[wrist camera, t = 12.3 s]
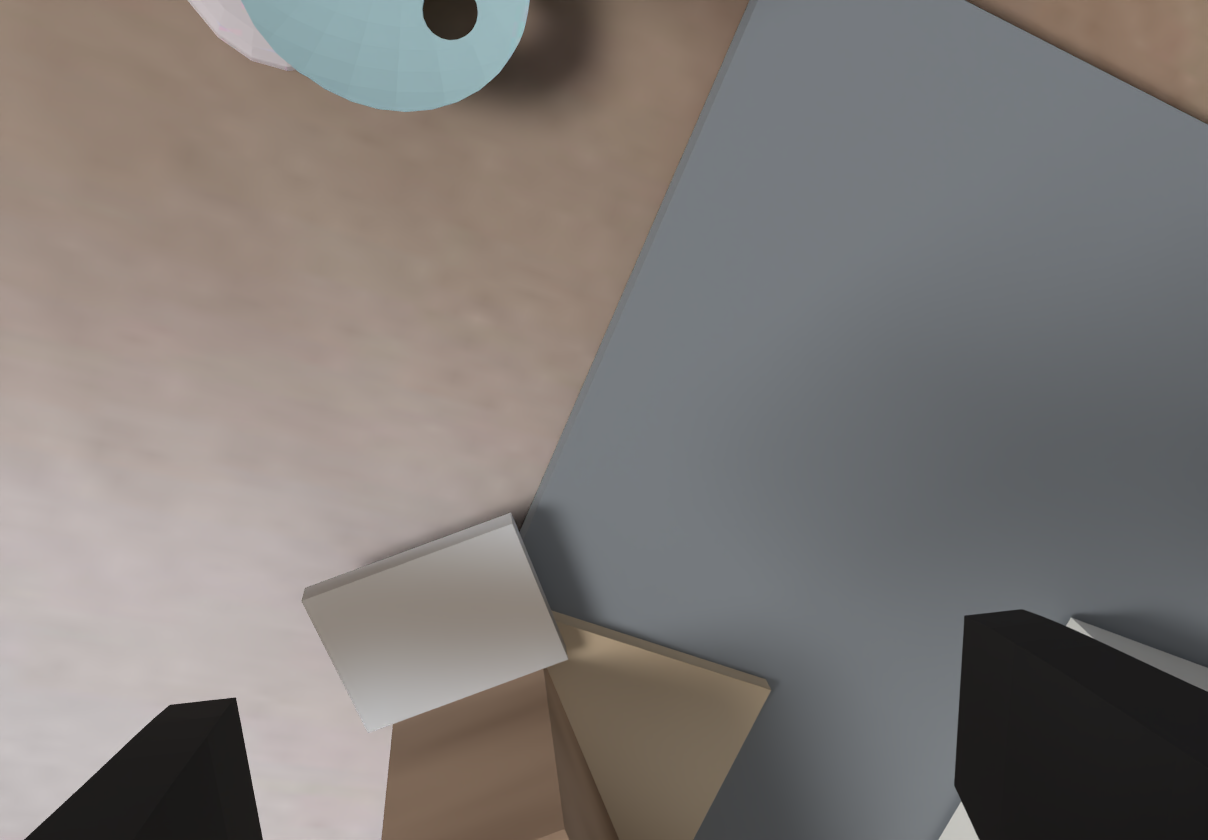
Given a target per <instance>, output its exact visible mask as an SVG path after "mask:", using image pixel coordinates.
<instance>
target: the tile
mask: <svg viewBox="0 0 1208 840" xmlns="http://www.w3.org/2000/svg"><path fill="white" fill-rule="evenodd" d="M1066 626H1067V627H1069V628H1071V629H1074V630H1076V631H1078V632H1080V633H1082V634H1085V635H1087V636H1089V637H1091V638H1094V639H1096V640H1098V641H1100V642H1102V643H1104V644H1106V645H1109V646H1111V647H1113V648H1115V649H1117V650H1119V651H1121V652H1124V653H1126V654H1128V655H1130V656H1132V657H1134V658H1136V659H1138V660H1141V661H1143V662H1145V663H1147V664H1149V665H1151V666H1153V667H1156V668H1158V669H1160V670H1162V671H1164V672H1166V673H1168V674H1171V675H1173V676H1175V677H1177V678H1179V679H1181V680H1183V681H1186V682H1188V683H1190V684H1192V685H1194V686H1197V687H1199V688H1201V689H1203V690H1205V691H1207V692H1208V668H1207V667H1204V666H1201V665H1199V664H1196V663H1193V662H1190V661H1188V660H1185V659H1182V658H1180V657H1177V656H1174V655H1171V654H1169V653H1166V652H1163V651H1161V650H1158V649H1155V648H1153V647H1150V646H1147V645H1144V644H1142V643H1139V642H1136V641H1134V640H1131V639H1128V638H1125V637H1123V636H1120V635H1117V634H1115V633H1112V632H1109V631H1107V630H1104V629H1101V628H1098V627H1096V626H1093V625H1090V624H1088V623H1085V622H1082V621H1079V620H1077V619H1074V618H1070V620H1069V622H1068V623H1067V625H1066ZM938 840H979V838H978V836H977V834H976V832H975V830H974V828H973V825H972V823H971V821H970V819H969V817H968V815H967V812H966V810H965V808H964V806H963V804H962V801H961V803H960V804H959V806H958V808H957V809H956V811H955V813H954V814H953V816H952V818H951V819H950V821H949V823H948V824H947V826H946V828H945V829H944V831H943V833H942V834H941V836H940V838H939V839H938Z"/></svg>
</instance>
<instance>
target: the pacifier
mask: <svg viewBox="0 0 1208 840" xmlns="http://www.w3.org/2000/svg"><path fill="white" fill-rule="evenodd" d="M188 2H189V3H190V4H191V5H192V6H193V8H194V9H195V10H196V11H197V12H198V14H199V15H200V16H201V17H202V18H203V20H204V21H205V22H206V23H207V24H208V26H209V27H210V28H211V29H212V30H213V32H214V33H215V34H216V35H217V37H219V38H220V39H221V40H223V41H224V42H226V43H227V44H229V45H230V46H231V47H233V48H234V49H236V50H237V51H239V52H240V53H241V54H243V55H244V56H246V57H247V58H249V59H250V60H251V61H254V62H258V63H261V64H265V65H269V66H272V67H276V68H279V69H283V70H287V71H290V70H297V71H298V72H299V73H301V74H303V75H305V76H307V77H308V78H310V79H311V80H313V81H314V82H316V83H317V84H318V85H320V86H321V87H323V88H324V89H326V90H328V91H330V92H332V93H335V94H337V95H339V96H341V97H343V98H345V99H347V100H349V101H352V102H355V103H359V104H362V105H366V106H369V107H373V108H376V109H382V110H393V111H403V112H409V111H420V110H431V109H435V108H439V107H442V106H445V105H449V104H452V103H456V102H458V101H460V100H462V99H464V98H466V97H468V96H470V95H472V94H473V93H475V92H477V91H479V90H480V89H482V88H483V87H484V86H485V85H486V84H487V83H488V82H490V81H491V80H492V79H493V78H494V77H495V76H496V75H498V74H499V73H500V71H501V70H502V68H503V67H504V66H505V64H506V63H507V61H508V60H509V59H510V57H511V56H512V54H513V52H514V51H515V49H516V47H517V45H518V43H519V42H520V39H521V37H522V34H523V31H524V28H525V24H526V20H527V14H528V8H529V2H530V0H475V2H476V4H477V10H478V16H477V22H476V24H475V26H474V28H473V29H472V31H471V32H470V33H468V34H467V35H466V36H465V37H462V38H460V39H457V40H446V39H442V38H440V37H438V36H436V35H435V34H433V33H432V31H431V30H430V29H429V28H428V27H427V25H426V22H425V20H424V16H423V5H424V0H188Z"/></svg>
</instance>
